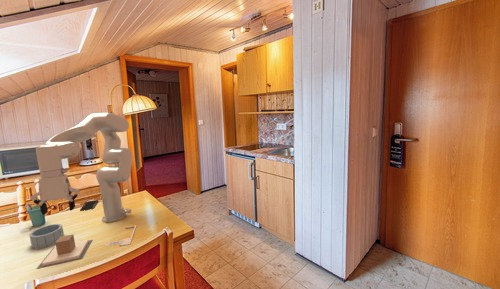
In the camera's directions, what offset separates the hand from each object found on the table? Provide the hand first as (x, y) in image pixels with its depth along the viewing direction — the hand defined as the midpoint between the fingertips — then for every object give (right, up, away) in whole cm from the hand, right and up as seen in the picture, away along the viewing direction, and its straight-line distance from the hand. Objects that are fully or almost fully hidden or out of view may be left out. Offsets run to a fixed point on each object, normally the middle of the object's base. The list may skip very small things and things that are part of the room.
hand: (59, 211), depth 100 cm
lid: (+1, -20, +3) cm, 20 cm away
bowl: (-17, -19, +14) cm, 29 cm away
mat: (+1, -20, +3) cm, 21 cm away
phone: (-26, -13, +57) cm, 64 cm away
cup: (-38, -18, +31) cm, 52 cm away
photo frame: (+17, -18, +15) cm, 29 cm away
